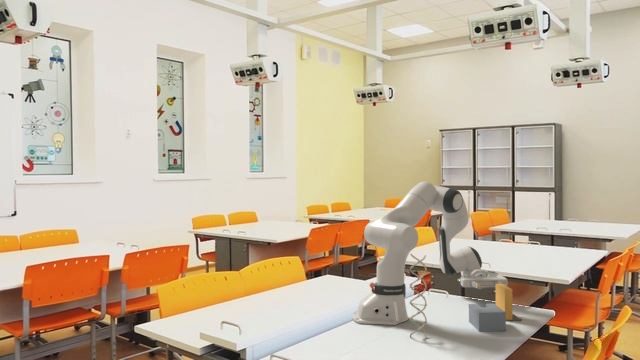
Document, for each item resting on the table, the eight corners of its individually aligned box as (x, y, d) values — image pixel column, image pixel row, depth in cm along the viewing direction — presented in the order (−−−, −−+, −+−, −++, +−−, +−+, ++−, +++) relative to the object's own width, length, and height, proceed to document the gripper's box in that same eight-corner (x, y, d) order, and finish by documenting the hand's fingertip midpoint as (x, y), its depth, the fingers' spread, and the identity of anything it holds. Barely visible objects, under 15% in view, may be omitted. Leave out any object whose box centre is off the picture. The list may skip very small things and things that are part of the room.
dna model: (406, 339, 184) (406, 255, 183) (412, 333, 190) (412, 252, 189) (424, 342, 181) (424, 256, 180) (429, 336, 186) (430, 253, 186)
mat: (496, 321, 204) (496, 320, 204) (487, 313, 214) (487, 312, 214) (521, 320, 204) (521, 319, 204) (511, 313, 214) (511, 312, 214)
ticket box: (479, 331, 192) (479, 312, 192) (468, 321, 204) (468, 303, 204) (505, 330, 192) (505, 312, 192) (493, 320, 205) (493, 303, 204)
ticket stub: (504, 319, 205) (505, 289, 204) (495, 312, 215) (495, 283, 214) (512, 319, 205) (512, 289, 204) (502, 312, 215) (502, 283, 214)
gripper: (456, 272, 237) (465, 278, 224) (500, 272, 238) (512, 278, 224) (456, 285, 237) (465, 293, 224) (500, 285, 238) (512, 293, 224)
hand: (489, 285), depth 224 cm, fingers open, 8 cm apart
